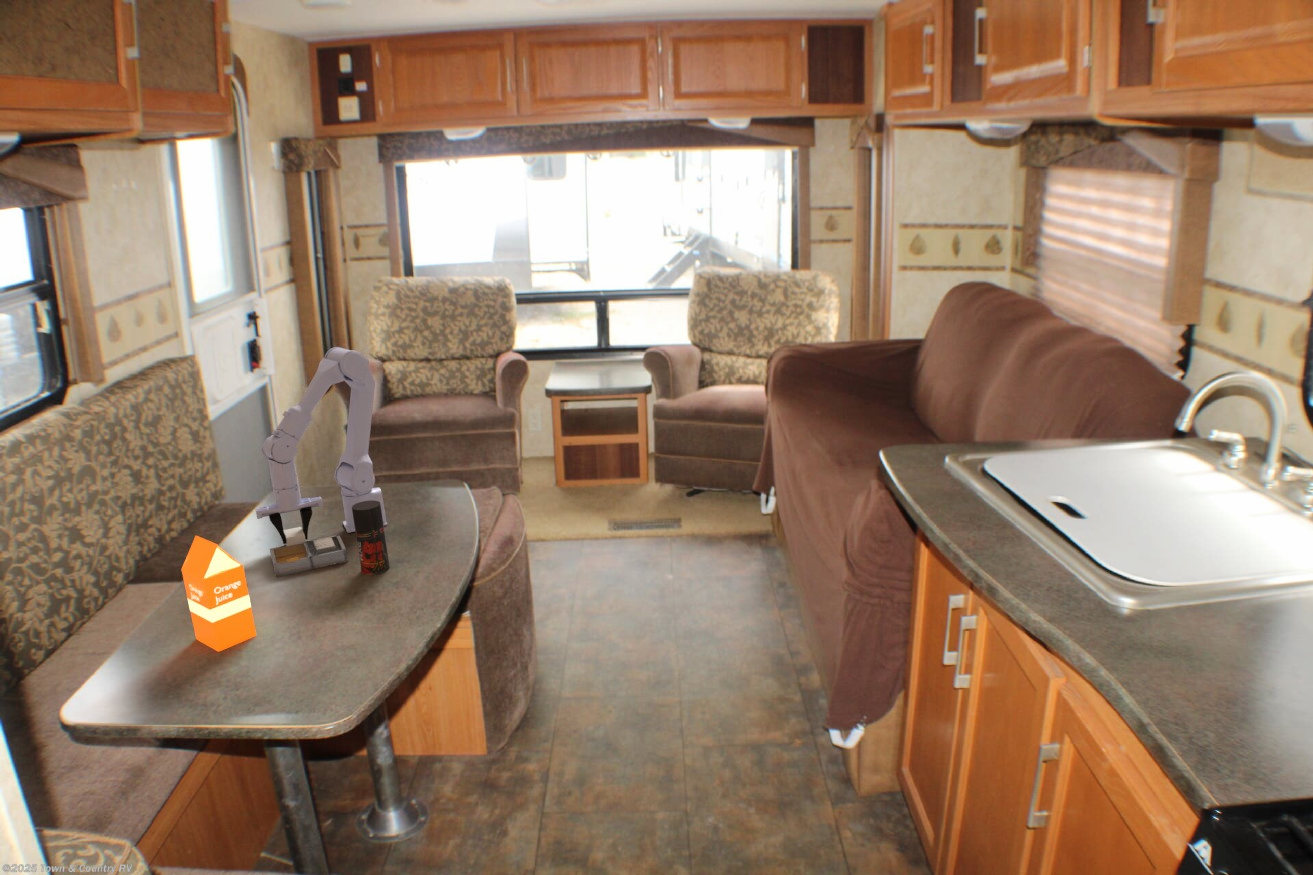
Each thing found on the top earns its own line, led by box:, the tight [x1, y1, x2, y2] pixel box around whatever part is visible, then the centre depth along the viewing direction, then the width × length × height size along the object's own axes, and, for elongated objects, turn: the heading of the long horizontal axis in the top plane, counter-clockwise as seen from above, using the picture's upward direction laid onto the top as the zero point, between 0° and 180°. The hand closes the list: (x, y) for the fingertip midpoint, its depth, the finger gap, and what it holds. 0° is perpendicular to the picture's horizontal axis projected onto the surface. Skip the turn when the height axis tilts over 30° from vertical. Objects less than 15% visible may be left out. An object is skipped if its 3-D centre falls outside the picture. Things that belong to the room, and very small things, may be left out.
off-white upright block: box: [283, 526, 307, 546], centre depth 223 cm, size 4×6×4 cm, turn 28°
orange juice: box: [180, 535, 257, 652], centre depth 177 cm, size 8×9×20 cm
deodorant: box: [352, 500, 390, 576], centre depth 205 cm, size 6×6×15 cm
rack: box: [269, 534, 349, 578], centre depth 214 cm, size 15×11×3 cm
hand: (295, 540), depth 223 cm, fingers closed on off-white upright block, 4 cm apart
